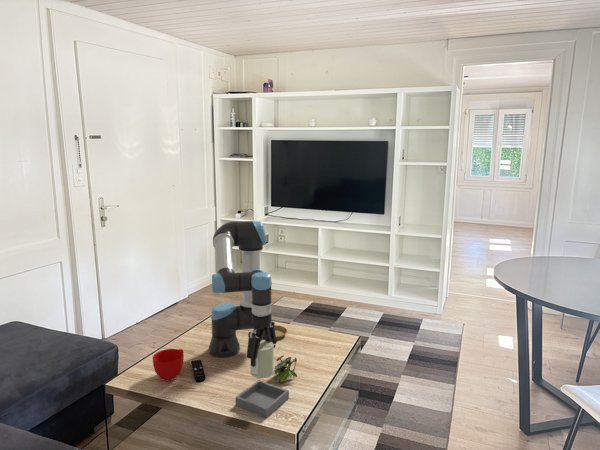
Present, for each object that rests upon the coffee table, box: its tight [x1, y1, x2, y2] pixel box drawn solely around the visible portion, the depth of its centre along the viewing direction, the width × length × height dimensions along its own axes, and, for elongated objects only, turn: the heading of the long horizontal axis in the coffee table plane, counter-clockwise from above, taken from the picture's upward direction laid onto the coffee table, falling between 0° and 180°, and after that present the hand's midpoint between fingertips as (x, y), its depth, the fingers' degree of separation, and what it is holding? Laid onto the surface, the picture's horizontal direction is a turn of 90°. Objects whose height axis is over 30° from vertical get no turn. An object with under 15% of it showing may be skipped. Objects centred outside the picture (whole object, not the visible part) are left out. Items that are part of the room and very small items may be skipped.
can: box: [250, 339, 275, 379], centre depth 169 cm, size 9×9×12 cm
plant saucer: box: [274, 325, 288, 340], centre depth 233 cm, size 15×15×3 cm
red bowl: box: [152, 348, 185, 381], centre depth 191 cm, size 13×17×10 cm
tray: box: [235, 379, 290, 419], centre depth 172 cm, size 15×15×4 cm
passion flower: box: [273, 355, 298, 384], centre depth 190 cm, size 11×11×12 cm
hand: (262, 367), depth 169 cm, fingers closed on can, 9 cm apart
